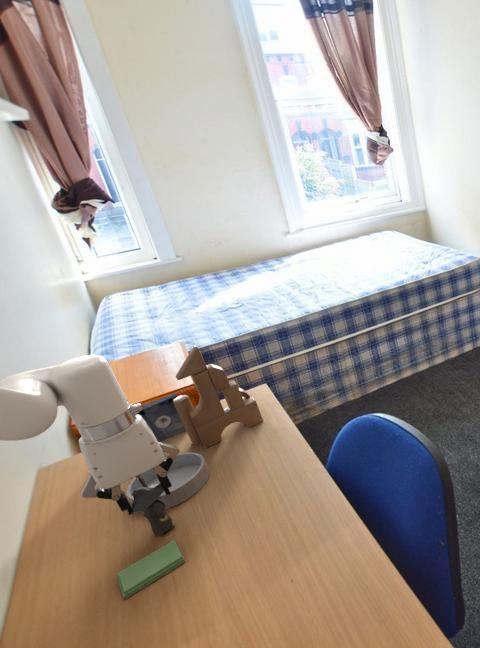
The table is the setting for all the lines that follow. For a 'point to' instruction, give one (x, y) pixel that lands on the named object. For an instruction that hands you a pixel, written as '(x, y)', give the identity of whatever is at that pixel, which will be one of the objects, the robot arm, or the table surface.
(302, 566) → the table surface
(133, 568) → the green rectangular block
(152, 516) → the wizard figurine
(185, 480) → the metal pan
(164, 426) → the vhs cassette tape
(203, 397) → the wooden toy
